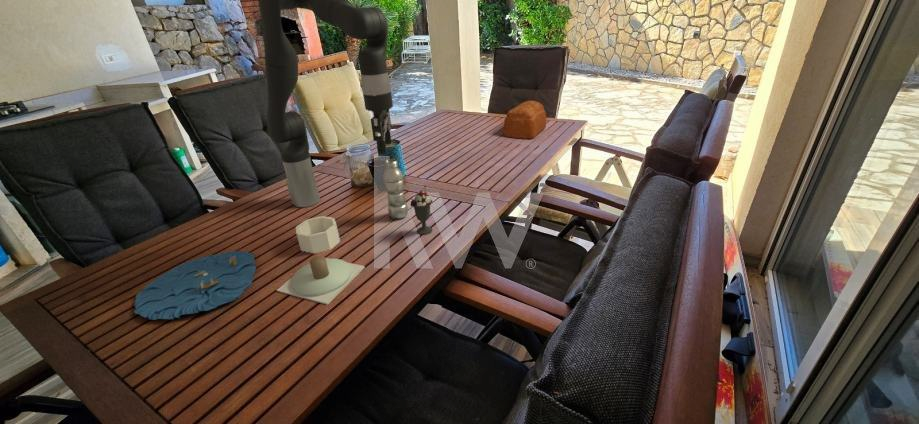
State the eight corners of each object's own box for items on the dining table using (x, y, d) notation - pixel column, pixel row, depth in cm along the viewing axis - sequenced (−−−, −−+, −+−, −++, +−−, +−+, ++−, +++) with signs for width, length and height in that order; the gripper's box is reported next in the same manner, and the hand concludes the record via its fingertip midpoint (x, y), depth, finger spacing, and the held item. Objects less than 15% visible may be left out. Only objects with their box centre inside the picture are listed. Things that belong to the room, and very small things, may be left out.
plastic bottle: (405, 221, 131) (397, 164, 122) (386, 220, 133) (377, 164, 123) (411, 212, 137) (404, 157, 128) (392, 211, 138) (384, 157, 129)
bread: (547, 127, 219) (549, 100, 212) (533, 140, 200) (534, 110, 193) (518, 124, 227) (518, 98, 220) (501, 137, 208) (501, 108, 201)
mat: (277, 291, 102) (276, 290, 102) (318, 257, 115) (317, 256, 115) (327, 304, 96) (327, 303, 96) (364, 267, 109) (364, 266, 109)
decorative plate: (173, 344, 88) (164, 327, 85) (116, 301, 102) (106, 285, 100) (287, 273, 109) (282, 257, 107) (226, 246, 124) (220, 231, 122)
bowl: (292, 249, 120) (287, 232, 117) (317, 230, 129) (313, 214, 126) (323, 255, 116) (318, 238, 113) (346, 236, 125) (343, 219, 122)
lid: (279, 289, 102) (273, 271, 99) (318, 257, 114) (313, 241, 112) (326, 301, 97) (321, 283, 94) (362, 266, 109) (358, 250, 106)
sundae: (438, 226, 127) (434, 183, 120) (430, 237, 122) (425, 192, 115) (419, 224, 129) (414, 181, 122) (410, 234, 124) (405, 190, 117)
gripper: (368, 86, 113) (377, 141, 121) (356, 97, 101) (367, 157, 108) (394, 85, 113) (401, 140, 120) (386, 95, 100) (394, 156, 108)
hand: (385, 148), depth 114 cm, fingers open, 8 cm apart
